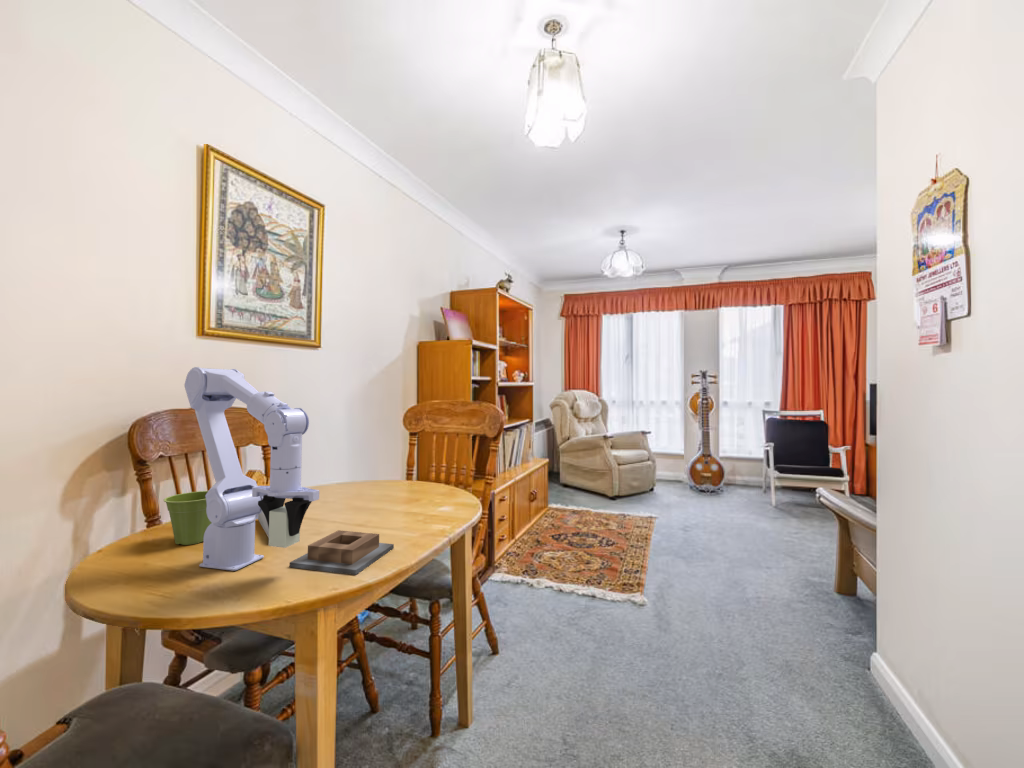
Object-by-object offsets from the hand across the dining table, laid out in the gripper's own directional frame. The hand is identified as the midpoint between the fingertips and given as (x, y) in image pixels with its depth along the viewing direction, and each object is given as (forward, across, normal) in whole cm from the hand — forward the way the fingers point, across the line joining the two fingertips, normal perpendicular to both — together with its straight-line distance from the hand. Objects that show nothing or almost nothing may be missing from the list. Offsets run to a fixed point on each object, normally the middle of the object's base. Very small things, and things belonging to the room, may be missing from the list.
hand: (284, 533), depth 90 cm
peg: (+2, 0, 0) cm, 2 cm away
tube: (+9, -24, +24) cm, 35 cm away
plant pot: (+9, -37, +12) cm, 40 cm away
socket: (+9, +6, +12) cm, 16 cm away
